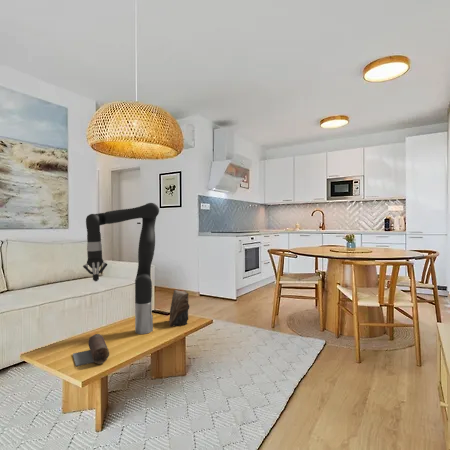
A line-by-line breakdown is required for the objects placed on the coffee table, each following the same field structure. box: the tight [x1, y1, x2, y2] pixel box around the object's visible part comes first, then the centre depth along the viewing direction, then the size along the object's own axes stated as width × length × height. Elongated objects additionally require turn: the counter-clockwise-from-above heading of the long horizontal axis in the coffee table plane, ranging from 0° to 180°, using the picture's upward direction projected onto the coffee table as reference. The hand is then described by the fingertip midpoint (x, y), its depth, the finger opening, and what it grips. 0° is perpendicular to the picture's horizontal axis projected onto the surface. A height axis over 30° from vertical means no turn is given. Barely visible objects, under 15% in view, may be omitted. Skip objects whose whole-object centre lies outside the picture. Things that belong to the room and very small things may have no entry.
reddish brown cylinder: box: [87, 333, 110, 365], centre depth 146 cm, size 8×7×20 cm
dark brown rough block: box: [168, 289, 190, 327], centre depth 194 cm, size 13×13×20 cm
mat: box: [72, 349, 95, 367], centre depth 145 cm, size 11×14×1 cm
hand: (96, 281), depth 170 cm, fingers closed
